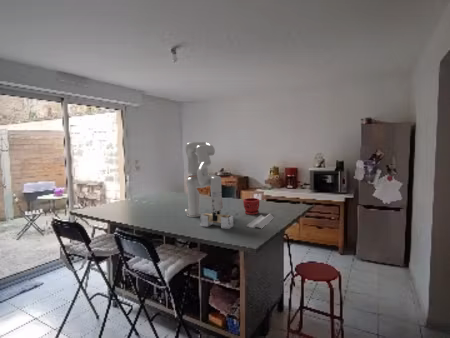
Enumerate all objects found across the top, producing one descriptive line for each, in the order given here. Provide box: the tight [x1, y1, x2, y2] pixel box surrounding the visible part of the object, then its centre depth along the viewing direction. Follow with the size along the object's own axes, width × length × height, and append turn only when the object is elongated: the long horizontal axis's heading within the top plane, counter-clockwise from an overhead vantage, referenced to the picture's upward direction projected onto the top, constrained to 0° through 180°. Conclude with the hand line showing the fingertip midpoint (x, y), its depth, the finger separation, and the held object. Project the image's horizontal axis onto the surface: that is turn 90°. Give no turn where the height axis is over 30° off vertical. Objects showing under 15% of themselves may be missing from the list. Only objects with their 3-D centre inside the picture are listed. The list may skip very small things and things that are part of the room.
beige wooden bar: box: [203, 212, 231, 224], centre depth 195 cm, size 18×4×5 cm, turn 67°
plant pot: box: [242, 197, 260, 216], centre depth 230 cm, size 13×13×12 cm
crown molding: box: [245, 213, 275, 230], centre depth 203 cm, size 31×12×4 cm, turn 155°
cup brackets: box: [199, 212, 234, 230], centre depth 195 cm, size 22×8×8 cm, turn 66°
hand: (216, 219), depth 195 cm, fingers open, 4 cm apart
